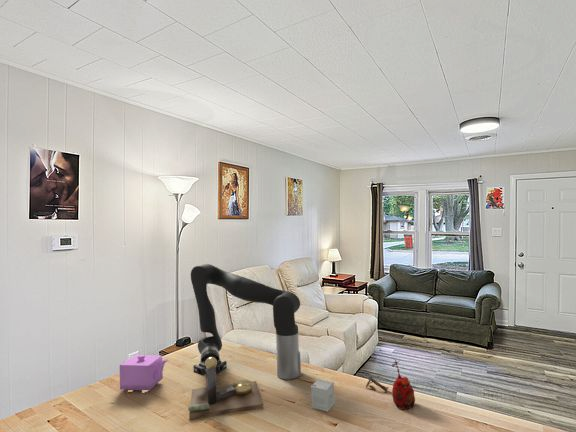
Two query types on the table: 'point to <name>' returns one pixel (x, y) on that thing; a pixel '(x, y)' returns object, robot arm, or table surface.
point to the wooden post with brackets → (376, 384)
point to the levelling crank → (237, 388)
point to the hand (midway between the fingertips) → (210, 376)
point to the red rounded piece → (403, 392)
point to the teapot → (141, 372)
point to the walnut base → (223, 402)
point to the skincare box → (322, 395)
